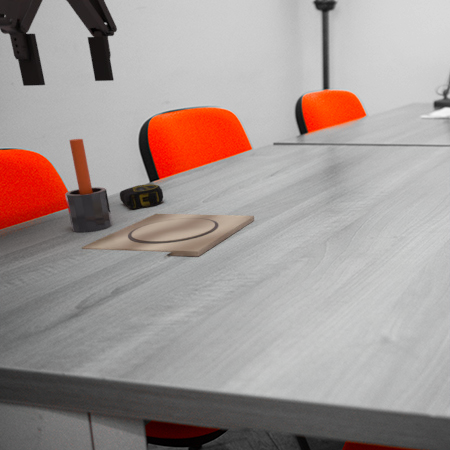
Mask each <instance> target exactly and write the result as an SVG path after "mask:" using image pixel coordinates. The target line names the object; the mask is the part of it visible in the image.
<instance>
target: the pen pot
mask: <svg viewBox="0 0 450 450" xmlns="http://www.w3.org/2000/svg"><path fill="white" fill-rule="evenodd" d="M92 191H93V193H90V194H81V195H80V192H79V188H78V189H73V190H72V189H71V190H70V191H66V193H64V196H65V200H66V201H65V202H66V206H67V210H68V216H69V220H70V225H71V231H73V232H74V233H77V234H78V233H79V234H80V233H82V234H83V233H85V234H87V233H95V232H100V231H103V230H104V231H105V230H106V229H109V228H111V227H112V226H113V220H112V214H111V209H110V203H109V202H110V201H109V198H108V193H107V188H106V187H99V186H97V187H95V186H94V187H92Z"/></svg>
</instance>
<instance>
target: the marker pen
mask: <svg viewBox="0 0 450 450" xmlns="http://www.w3.org/2000/svg"><path fill="white" fill-rule="evenodd" d="M69 146H70V151H71V156H72V161H73V166H74V172H75V176H76V182H77V186H78V187H77V188H78V189H79V192H80V195H81V194H90V193H93V191H92V188H93V187H92V182H91V181H92V180H91V177H90V176H91V175H90V171H89V165H88V159H87V155H86V149H85V143H84V139H83V138H74V139H69Z"/></svg>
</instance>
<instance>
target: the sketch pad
mask: <svg viewBox="0 0 450 450" xmlns="http://www.w3.org/2000/svg"><path fill="white" fill-rule="evenodd" d="M254 221H255V216H254V215H238V214H237V215H236V214H235V215H232V214H191V213H190V214H187V213H186V214H184V213H154V214H152V215H150V216H148V217H145V218H143V219H141V220H139V221H136V222H135V223H132V224H130V225H127V226H125V227H124V228H121V229H119V230H117V231H115V232H112V233H110V234H107V235H105V236H103V237H101V238H99V239H97V240H95V241H91V242H90V243H88V244H86V245H83V246H82V247H81V250H99V251H100V250H102V251H103V250H104V251H130V252H131V251H133V252H158V253H159V252H160V253H161V252H162V253H167V254H166V256H171V257H172V256H174V257H197V258H199V257H200V256H202V255H203V254H205V253H207V252H208V251H209V250H210V249H212V248H214V247H215V246H217V245H218V244H220V243H221V242H223V241H225V240H226V239H228V238H230V237H231V236H233V235H234V234H236V233H237V232H238V231H240V230H242V229H243V228H245V227H246V226H248V225H249V224H251V223H252V222H254Z"/></svg>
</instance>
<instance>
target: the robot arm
mask: <svg viewBox="0 0 450 450" xmlns="http://www.w3.org/2000/svg"><path fill="white" fill-rule="evenodd" d="M65 1H66V2H67V3H68V5H69V6H70V8H71V9H72V11H74V13H75V14H76V16H77V17H78V18H79V20H80V21H81V22H82V24H83V25H84V27H85V28H86V29H87V30H88V32H89V33H90V35H91V36H87V43H88V48H89V54H90V59H91V64H92V65H91V66H92V70H93V77H94V81H95V82H107V81H108V82H110V81H112V82H113V81H114V74H113V67H112V62H111V55H112V54H111V48H110V43H109V37H114V35H115V33H117V31H118V27H117V25H116V22H115V20H114V18H113V17H112V14H111V12H110V10H109V8H108V6H107V4H106V1H105V0H65ZM42 3H43V0H0V32H1V33H2V34H4V35H9V38H10V43H11V47H12V50H13V51H12V52H13V56H14V58H15V60H17V61H18V66H19V71H20V75H21V79H22V80H21V81H22V85H23V86H24V87H25V86H26V87H31V86H32V87H33V86H45V85H46V82H45V77H44V71H43V67H42V66H43V65H42V61H41V58H40V57H41V56H40V52H39V46H38V42H37V38H36V33H28V32H29V31H30V29H31V26H32V25H33V22H34V20H35V18H36V16H37V13H38V11H39V9H40V7H41V5H42Z"/></svg>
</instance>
